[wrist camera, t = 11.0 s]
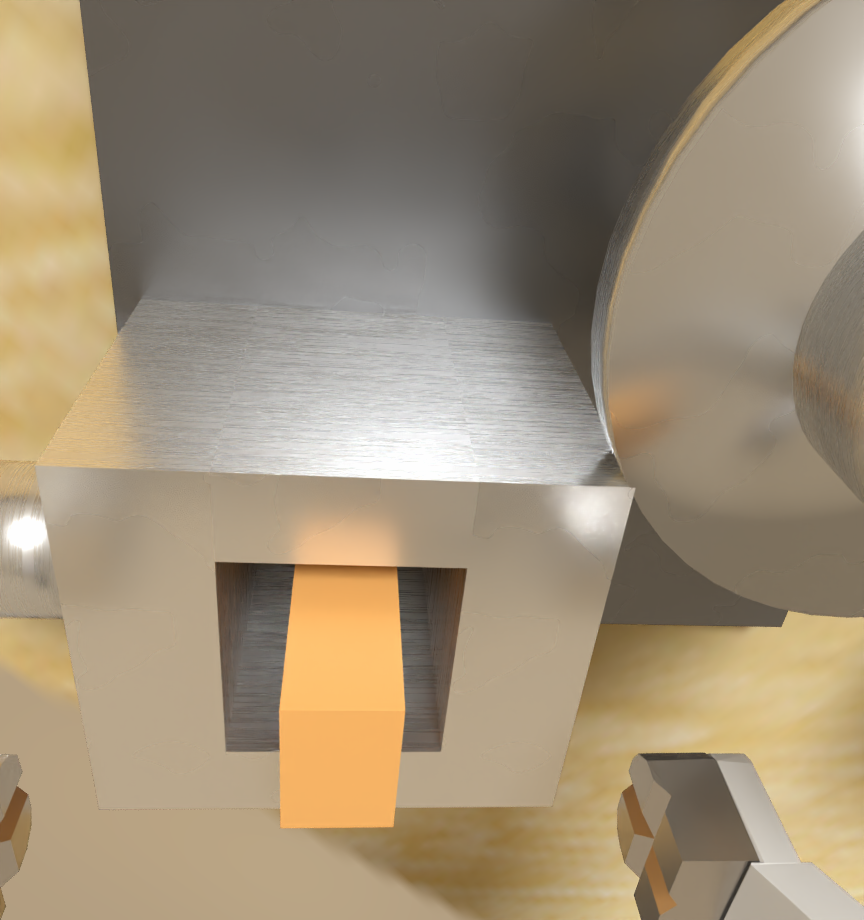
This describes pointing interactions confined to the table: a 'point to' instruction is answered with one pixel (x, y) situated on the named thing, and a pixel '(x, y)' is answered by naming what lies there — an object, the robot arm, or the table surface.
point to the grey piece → (448, 364)
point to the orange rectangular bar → (341, 698)
